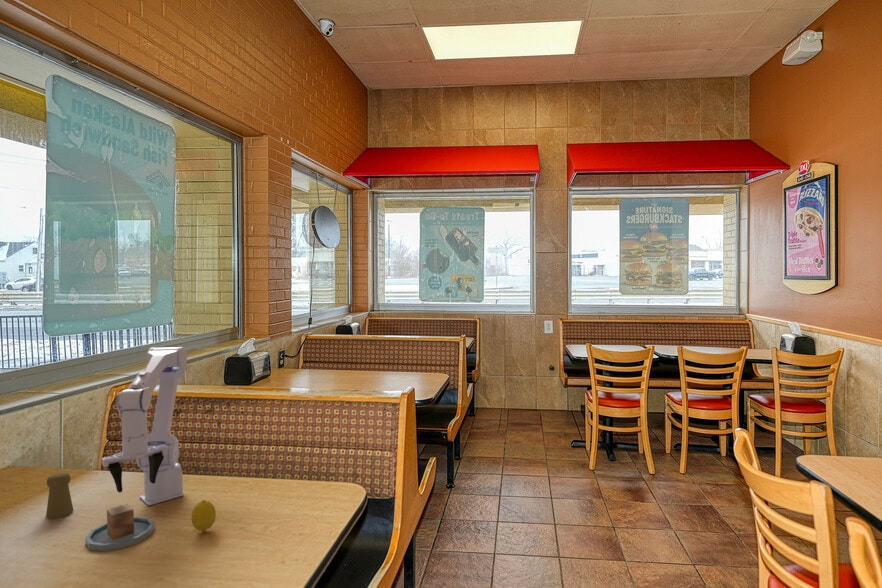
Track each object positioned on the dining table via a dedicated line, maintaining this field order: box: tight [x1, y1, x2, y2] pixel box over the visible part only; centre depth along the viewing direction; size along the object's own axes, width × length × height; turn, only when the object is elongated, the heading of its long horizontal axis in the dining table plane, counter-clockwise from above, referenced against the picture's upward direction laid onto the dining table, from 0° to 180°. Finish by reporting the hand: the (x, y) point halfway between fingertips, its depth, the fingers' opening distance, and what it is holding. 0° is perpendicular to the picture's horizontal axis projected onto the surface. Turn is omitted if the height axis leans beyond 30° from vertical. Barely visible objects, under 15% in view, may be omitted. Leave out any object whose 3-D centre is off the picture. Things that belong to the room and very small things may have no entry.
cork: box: [45, 471, 74, 520], centre depth 140 cm, size 6×6×11 cm
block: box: [106, 503, 135, 540], centre depth 128 cm, size 5×5×6 cm
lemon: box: [190, 499, 217, 533], centre depth 129 cm, size 6×6×8 cm
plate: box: [84, 516, 155, 552], centre depth 128 cm, size 14×14×1 cm
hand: (136, 486), depth 134 cm, fingers open, 7 cm apart
